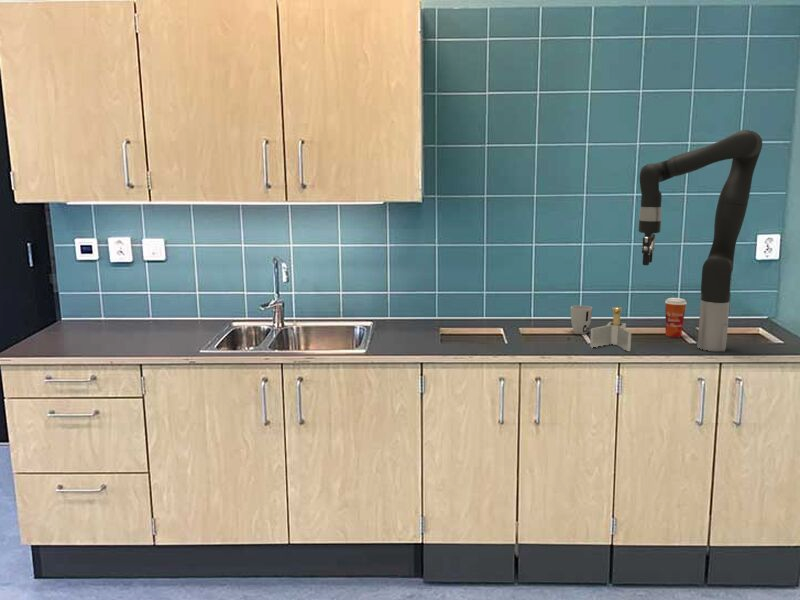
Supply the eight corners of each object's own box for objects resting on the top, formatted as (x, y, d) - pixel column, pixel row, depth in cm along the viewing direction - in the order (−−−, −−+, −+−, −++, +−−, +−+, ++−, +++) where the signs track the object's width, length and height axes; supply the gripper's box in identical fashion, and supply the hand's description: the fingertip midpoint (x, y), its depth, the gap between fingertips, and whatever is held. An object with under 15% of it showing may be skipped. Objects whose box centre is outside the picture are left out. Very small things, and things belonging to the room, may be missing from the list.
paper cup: (661, 336, 272) (663, 300, 269) (664, 332, 279) (666, 296, 276) (683, 338, 268) (685, 302, 266) (685, 334, 275) (688, 298, 273)
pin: (620, 342, 264) (622, 307, 261) (619, 344, 261) (621, 309, 258) (611, 341, 265) (613, 306, 263) (609, 343, 262) (611, 308, 260)
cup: (586, 336, 273) (587, 310, 272) (566, 333, 278) (567, 307, 276) (594, 332, 280) (595, 306, 278) (574, 329, 285) (575, 304, 283)
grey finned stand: (636, 343, 262) (637, 324, 261) (629, 352, 250) (631, 332, 248) (597, 339, 268) (598, 320, 267) (589, 348, 256) (590, 328, 254)
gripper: (658, 221, 254) (655, 266, 257) (663, 218, 266) (660, 261, 269) (636, 220, 257) (633, 265, 260) (642, 217, 270) (639, 260, 273)
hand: (647, 263), depth 265 cm, fingers open, 8 cm apart
